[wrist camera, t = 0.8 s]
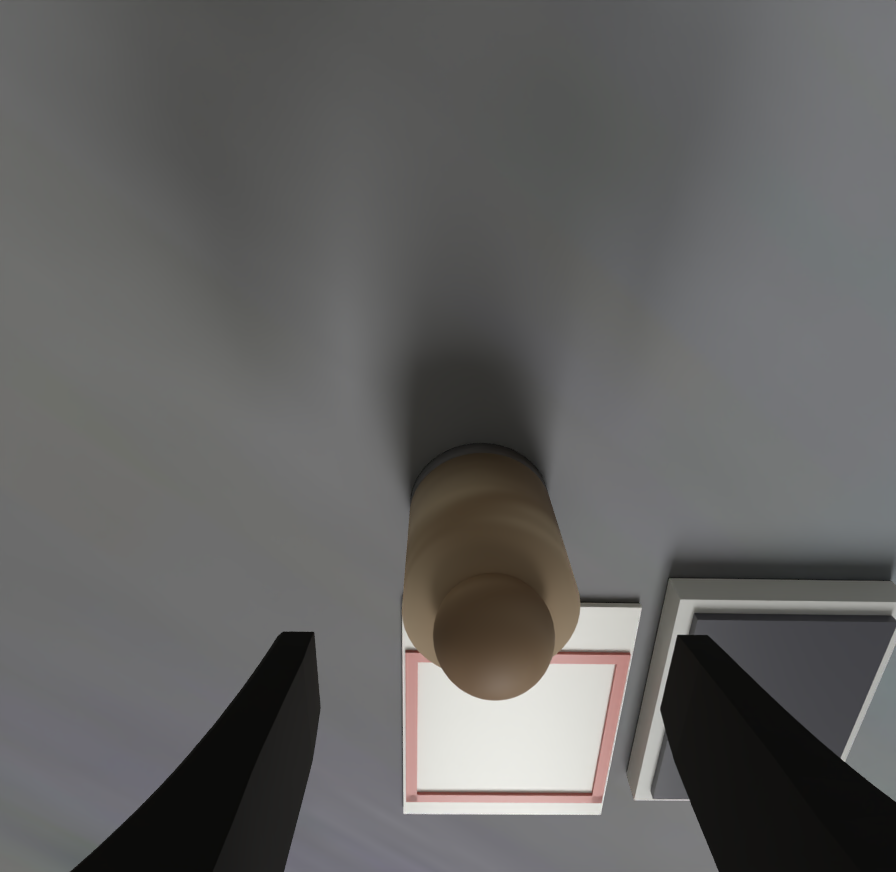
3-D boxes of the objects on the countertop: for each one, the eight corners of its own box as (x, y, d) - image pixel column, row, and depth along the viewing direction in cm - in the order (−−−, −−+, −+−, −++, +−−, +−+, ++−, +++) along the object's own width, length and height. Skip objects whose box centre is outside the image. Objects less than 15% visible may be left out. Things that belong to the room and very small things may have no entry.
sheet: (640, 603, 20) (642, 610, 19) (599, 809, 24) (601, 817, 24) (402, 600, 20) (402, 607, 19) (403, 808, 24) (403, 816, 23)
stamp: (554, 444, 17) (615, 602, 11) (541, 562, 19) (588, 753, 13) (410, 441, 17) (394, 599, 11) (410, 560, 19) (397, 752, 13)
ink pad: (891, 581, 19) (920, 608, 18) (812, 775, 23) (832, 809, 22) (669, 578, 19) (683, 606, 18) (626, 774, 23) (636, 808, 22)
